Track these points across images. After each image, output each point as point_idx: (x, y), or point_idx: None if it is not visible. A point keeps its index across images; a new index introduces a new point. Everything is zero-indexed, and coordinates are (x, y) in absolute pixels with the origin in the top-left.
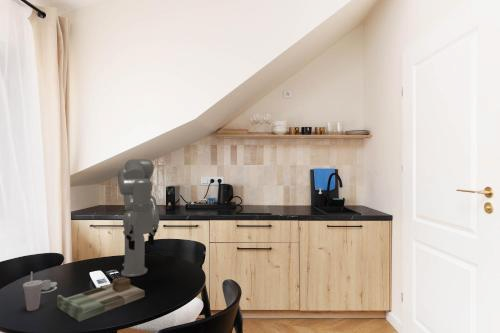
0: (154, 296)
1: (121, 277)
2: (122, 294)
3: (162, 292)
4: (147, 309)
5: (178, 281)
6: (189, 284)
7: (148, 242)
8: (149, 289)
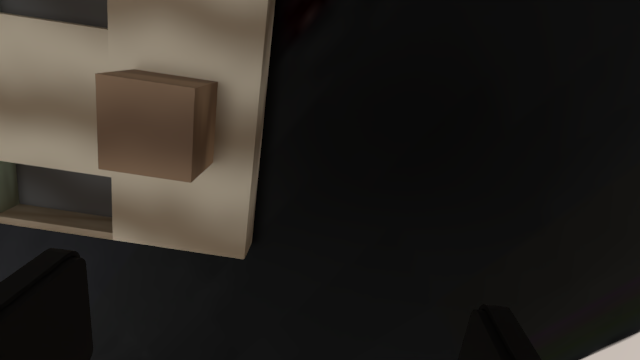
0: (283, 282)
1: (172, 87)
2: (131, 192)
3: (344, 283)
4: (166, 347)
5: (527, 255)
6: None
7: (482, 337)
8: (340, 191)
